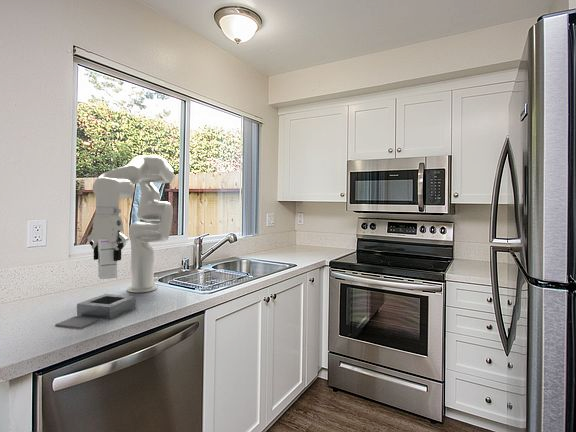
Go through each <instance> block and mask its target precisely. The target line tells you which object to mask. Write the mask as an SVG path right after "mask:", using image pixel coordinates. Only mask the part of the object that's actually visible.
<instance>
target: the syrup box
mask: <svg viewBox="0 0 576 432" xmlns="http://www.w3.org/2000/svg"><path fill="white" fill-rule="evenodd" d="M116 241H117V239H116ZM116 244H117V243H116ZM114 250H115V248H114V246H113V244H112V243H108V240H107V239H98V260H97V263H98V264H97V265H98V268H97V269H98V270H97V273H98V276H97V277H98V278H99V279H100V280H106V279H107V280H108V279H117V278H118V261H114Z"/></svg>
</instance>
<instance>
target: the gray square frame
mask: <svg viewBox="0 0 576 432" xmlns="http://www.w3.org/2000/svg"><path fill="white" fill-rule="evenodd" d="M136 308H137V298H136V296H135V295H125V294H124V295H123V294H121V295H120V294H113V293H111V294H110V293H104V294H101V295H98V296H95V297H92V298H90V299H88V300H84V301H81V302H78V303H76V316H79V317H88V318H97V319H100V320H106V321H107V320H108V321H111V320H113V319H115V318H118V317H119V316H122V315H124V314H126V313H128V312H130V311H133V310H135V309H136Z"/></svg>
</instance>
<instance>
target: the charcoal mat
mask: <svg viewBox="0 0 576 432" xmlns="http://www.w3.org/2000/svg"><path fill="white" fill-rule="evenodd" d="M100 321H101V319H97V318H88V317H79V316H77V315H76V316H75V315H74V316H73V317H70V318H67V319H65V320H62V321H60V322H57V323H55V324H54V326H55V327H60V328H61V327H62V328H68V329H69V328H70V329H77V330H82V329H85V328H87V327H89V326H91V325H93V324H96V323H98V322H100Z"/></svg>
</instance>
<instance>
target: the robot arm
mask: <svg viewBox="0 0 576 432" xmlns="http://www.w3.org/2000/svg"><path fill="white" fill-rule="evenodd" d="M174 173H175V172H174V169H173V168H172V166H171V164H169V163H168V161H167V160H166V159H165V158H164V157H162V156H160V155H138V156H135V157H134V158H132V159H131V160H130V161H129V162H128V163H127V164H126V165H124V166H121V167H117V168H114V169H111V170H108V171H105V172H104V173H102V174H100V175H99V176H98V177H97V178H96V179H95V181H94V182H93V184H92V192H93V194H94V195H95V215H94V217H93V220H92V221H93V222H92V229H91V230H92V231H91V233H90V234H89V235H87V237H86V239H87V240H88V243H89V245H90V246H91V249H93V261H98V239H107V240H108V243H112V244H113V246H114V248H115V250H114V261H117V262H118V261H121V260H122V250H124V247H125V246H126V244H127V243H128V241H129V240H130V250H131V253H130V254H131V256H130V259H131V260H130V265H131V266H130V267H131V268H130V269H131V270H130V271H131V273H130V277H131V278H130V286H127V292H129V293H135V294H136V293H138V294H139V293H148V292H152V291H154V290H157V289H158V286H157V284H155V282H158V281H159V277H158V276H156V277H154V268H155V267H154V265H155V264H154V262H155V261H154V259H155V258H154V257H155V254H154V253H155V252H154V249H153V247H152V246H151V244H150V243H165V242H167V241H168V240H169V238H170V234H171V233H170V232H171V229H172V222H173V215H174V208H173V205H172V204H171V202H168V201H160V198H161V194H160V193H161V192H160V191H159V189H158V188H157V187H156V186H155V185H154V184H169V183H172V182H173V179H174V177H175V174H174ZM137 184H138V185H139V187H140V190H141V192H140V193H141V195H140V199H139V203H138V207H137V211H136V212H137V214H136V215H137V218H138V219H139V221H138V220H137V221H134V222H133V223H131V224H130V225H129V227H128V235H129V238H128V237H127V236H126V235H125V233H124V223H123V220H122V219H123V218H122V216H121V215H120V213H121V212H122V209H121V208H120V199H129V198H131V197H133V195H134V193H135V190H136V189H135V185H137ZM140 220H141V221H140ZM116 239H117V241H116ZM116 243H117V244H116Z"/></svg>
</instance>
